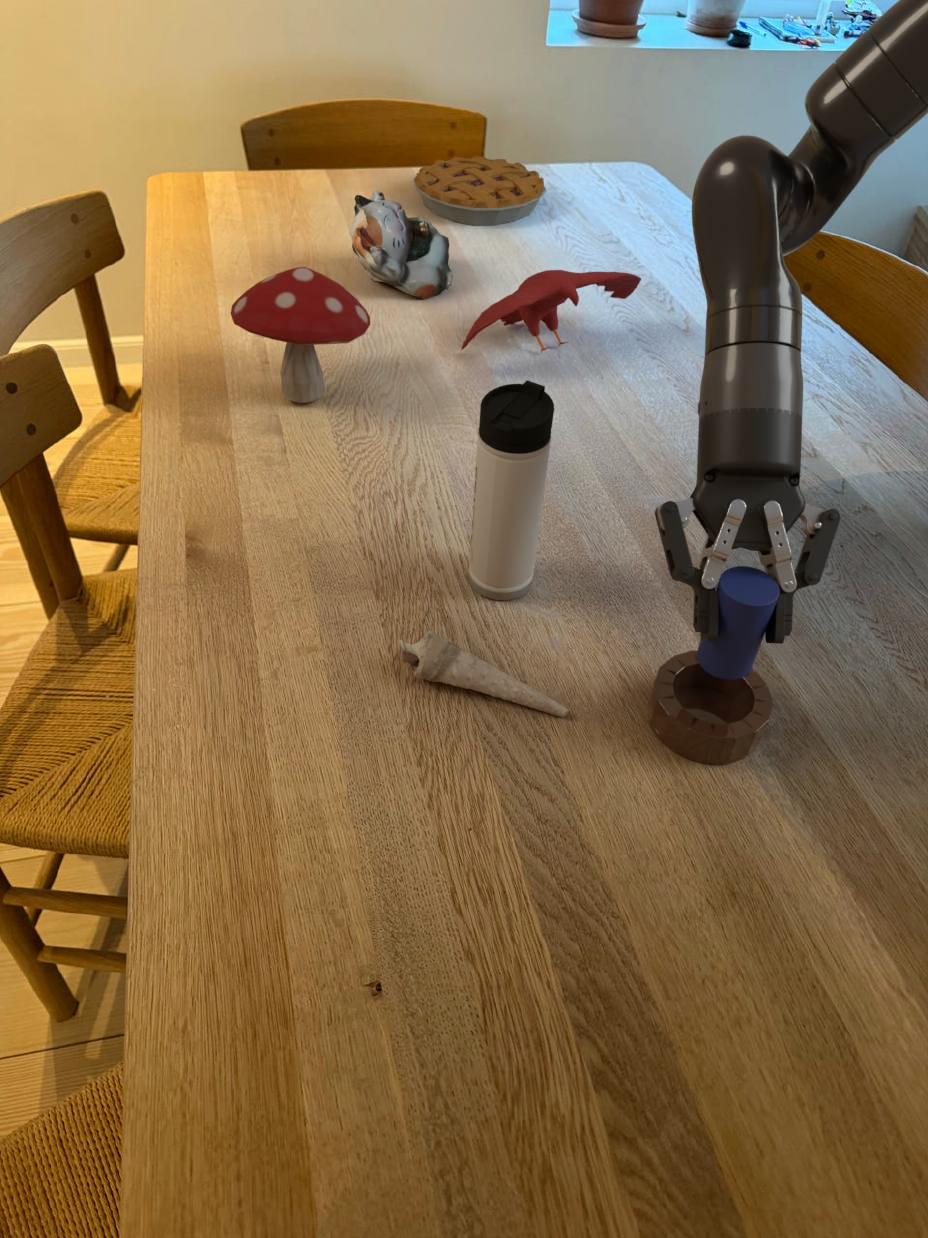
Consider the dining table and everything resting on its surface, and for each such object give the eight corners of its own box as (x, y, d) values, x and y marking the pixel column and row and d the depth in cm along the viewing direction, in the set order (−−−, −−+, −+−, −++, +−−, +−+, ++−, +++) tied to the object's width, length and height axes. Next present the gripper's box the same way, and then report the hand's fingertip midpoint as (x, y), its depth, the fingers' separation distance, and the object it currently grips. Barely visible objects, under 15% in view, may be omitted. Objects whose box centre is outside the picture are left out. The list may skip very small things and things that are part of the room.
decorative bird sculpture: (445, 395, 125) (498, 351, 112) (417, 329, 125) (467, 277, 111) (605, 341, 138) (670, 295, 125) (579, 281, 137) (642, 229, 124)
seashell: (403, 651, 86) (409, 611, 83) (571, 706, 83) (582, 666, 81) (386, 677, 82) (392, 636, 80) (560, 735, 80) (572, 694, 77)
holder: (748, 680, 85) (758, 652, 82) (772, 767, 78) (784, 740, 76) (641, 676, 85) (648, 648, 82) (655, 762, 78) (664, 735, 75)
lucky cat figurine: (452, 304, 134) (411, 225, 123) (376, 326, 139) (329, 252, 127) (457, 232, 142) (418, 152, 131) (384, 255, 146) (341, 179, 135)
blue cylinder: (746, 641, 78) (772, 566, 72) (757, 681, 75) (786, 606, 69) (692, 639, 78) (714, 564, 72) (701, 679, 74) (725, 604, 69)
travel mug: (545, 572, 94) (570, 392, 80) (513, 610, 90) (533, 428, 76) (489, 549, 96) (505, 370, 82) (456, 585, 92) (466, 404, 78)
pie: (485, 171, 173) (487, 141, 170) (569, 210, 162) (573, 180, 158) (388, 195, 163) (388, 165, 159) (470, 239, 151) (472, 207, 148)
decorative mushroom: (224, 373, 118) (207, 254, 108) (343, 349, 124) (338, 234, 114) (266, 439, 108) (252, 315, 98) (394, 410, 114) (393, 289, 104)
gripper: (668, 399, 68) (659, 638, 68) (865, 408, 69) (857, 646, 68) (645, 422, 76) (637, 638, 75) (823, 431, 76) (815, 645, 76)
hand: (742, 640), depth 72 cm, fingers closed on blue cylinder, 4 cm apart
